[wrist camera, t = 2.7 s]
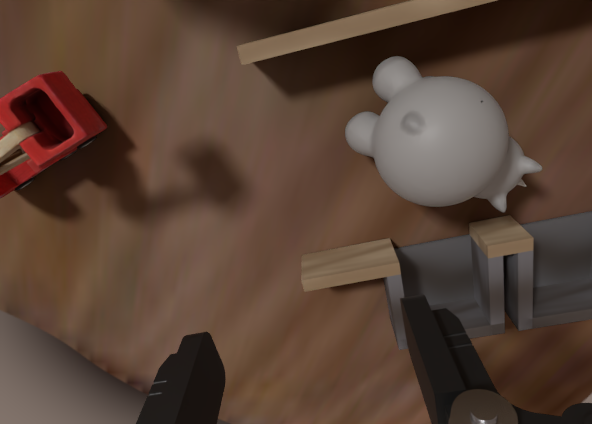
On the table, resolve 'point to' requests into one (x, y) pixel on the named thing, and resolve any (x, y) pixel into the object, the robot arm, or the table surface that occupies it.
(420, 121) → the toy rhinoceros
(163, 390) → the robot arm
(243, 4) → the table surface
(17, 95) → the toy fire truck
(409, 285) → the trap channel
